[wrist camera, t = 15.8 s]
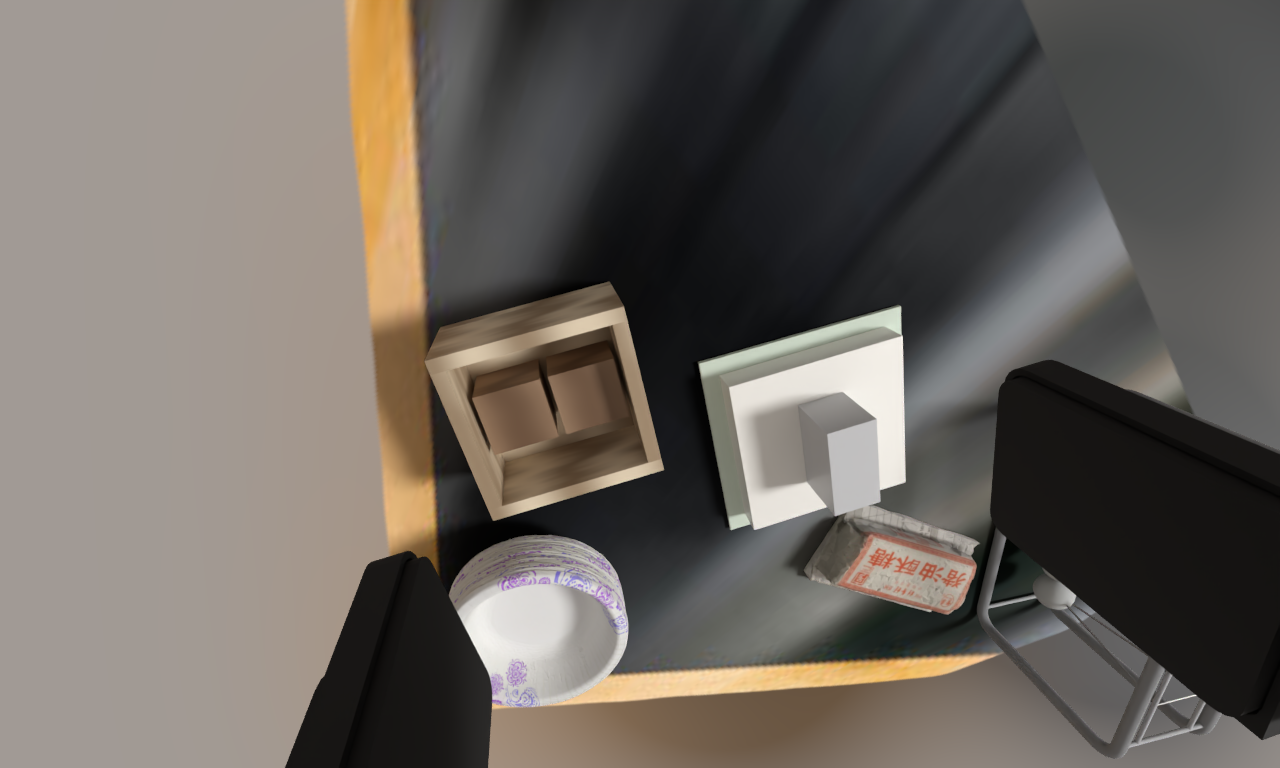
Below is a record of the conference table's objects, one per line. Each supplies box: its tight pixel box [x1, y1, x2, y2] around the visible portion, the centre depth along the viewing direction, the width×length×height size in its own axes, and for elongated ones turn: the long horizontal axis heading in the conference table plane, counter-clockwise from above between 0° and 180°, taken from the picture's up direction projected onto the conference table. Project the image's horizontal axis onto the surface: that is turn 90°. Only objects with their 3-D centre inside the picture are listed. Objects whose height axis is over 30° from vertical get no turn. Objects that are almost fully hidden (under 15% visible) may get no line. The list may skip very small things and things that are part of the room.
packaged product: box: [804, 505, 980, 615], centre depth 57 cm, size 18×5×10 cm
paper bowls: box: [449, 535, 628, 707], centre depth 48 cm, size 15×15×8 cm
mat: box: [698, 305, 901, 530], centre depth 50 cm, size 18×18×1 cm
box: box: [424, 282, 664, 521], centre depth 41 cm, size 13×13×7 cm
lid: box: [719, 327, 906, 530], centre depth 47 cm, size 15×15×8 cm
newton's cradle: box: [977, 390, 1280, 759], centre depth 53 cm, size 30×10×18 cm, turn 5°
